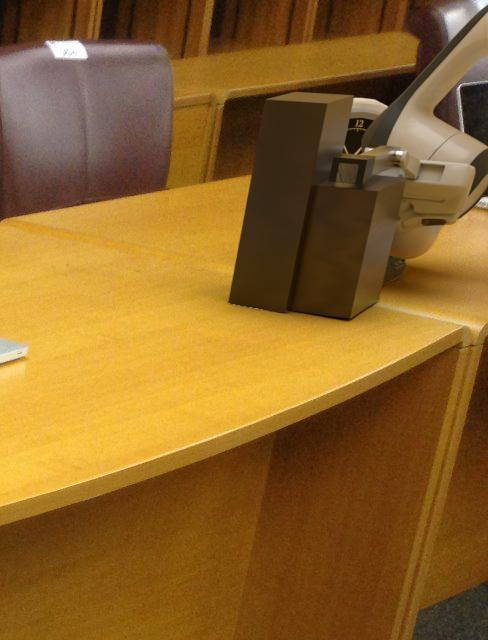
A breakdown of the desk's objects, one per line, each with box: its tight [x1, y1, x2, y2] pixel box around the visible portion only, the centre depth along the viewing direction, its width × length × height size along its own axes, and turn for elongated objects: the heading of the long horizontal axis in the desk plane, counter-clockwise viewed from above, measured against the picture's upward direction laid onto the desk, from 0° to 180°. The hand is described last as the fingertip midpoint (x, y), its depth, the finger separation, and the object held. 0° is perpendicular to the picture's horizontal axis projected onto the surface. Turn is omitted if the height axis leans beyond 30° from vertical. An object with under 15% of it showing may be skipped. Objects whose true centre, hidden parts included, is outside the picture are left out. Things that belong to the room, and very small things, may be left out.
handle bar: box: [329, 145, 401, 185], centre depth 198 cm, size 4×20×3 cm, turn 141°
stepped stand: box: [227, 91, 407, 320], centre depth 200 cm, size 15×16×26 cm
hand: (384, 154), depth 203 cm, fingers closed on handle bar, 2 cm apart
